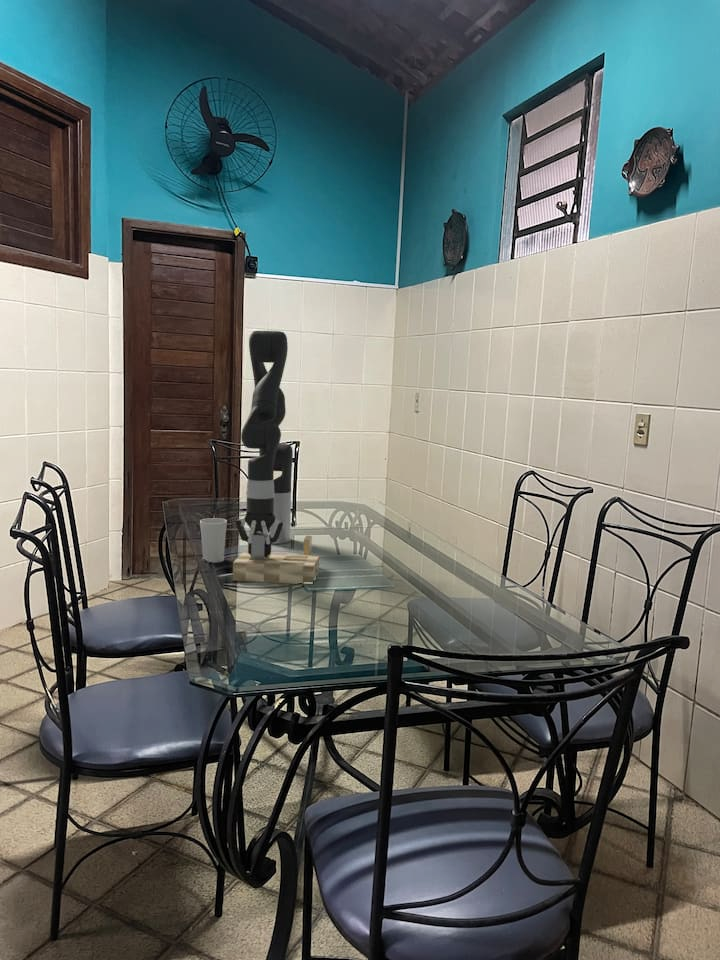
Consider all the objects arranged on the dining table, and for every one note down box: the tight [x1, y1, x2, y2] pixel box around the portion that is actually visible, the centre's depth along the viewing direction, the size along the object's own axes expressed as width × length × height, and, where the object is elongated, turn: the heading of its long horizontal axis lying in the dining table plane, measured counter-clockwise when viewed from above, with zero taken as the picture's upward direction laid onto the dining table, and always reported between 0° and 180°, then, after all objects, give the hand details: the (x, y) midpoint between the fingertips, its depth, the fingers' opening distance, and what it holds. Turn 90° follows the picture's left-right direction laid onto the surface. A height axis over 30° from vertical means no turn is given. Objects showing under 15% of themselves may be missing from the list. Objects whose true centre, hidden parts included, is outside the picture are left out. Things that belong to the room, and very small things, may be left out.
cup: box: [199, 517, 228, 564], centre depth 208 cm, size 8×8×12 cm
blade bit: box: [303, 535, 313, 555], centre depth 203 cm, size 5×2×9 cm, turn 176°
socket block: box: [232, 551, 320, 585], centre depth 193 cm, size 12×22×5 cm, turn 86°
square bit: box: [251, 531, 267, 561], centre depth 192 cm, size 4×4×10 cm
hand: (259, 555), depth 193 cm, fingers closed on square bit, 3 cm apart
